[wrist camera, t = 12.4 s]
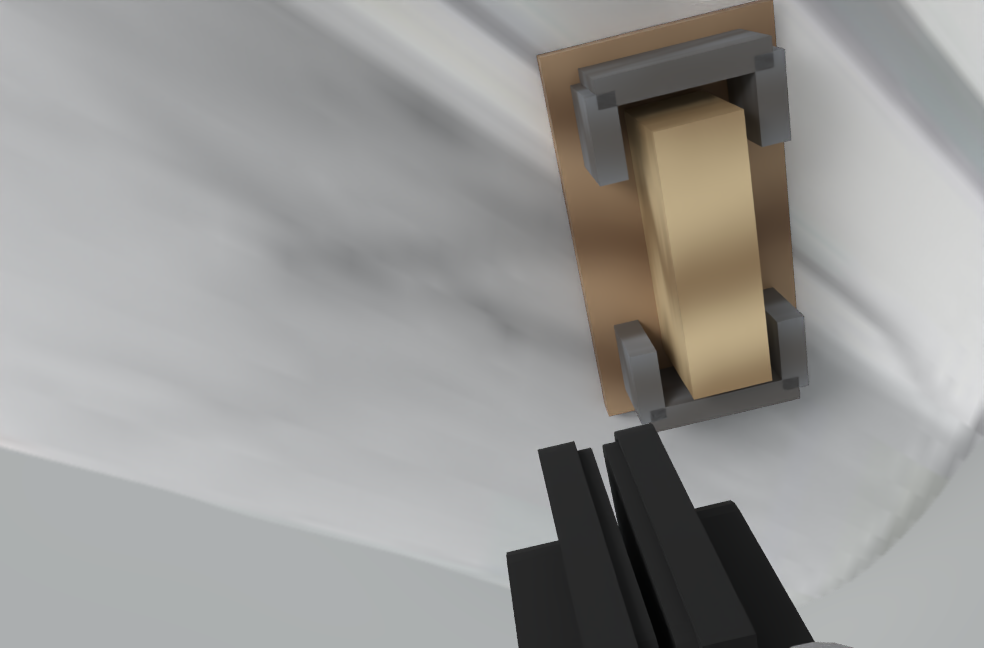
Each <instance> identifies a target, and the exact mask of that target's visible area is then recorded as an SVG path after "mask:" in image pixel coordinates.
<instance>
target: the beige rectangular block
mask: <svg viewBox="0 0 984 648" xmlns="http://www.w3.org/2000/svg"><path fill="white" fill-rule="evenodd" d="M624 115H625V121H626V127H627V133H628V139H629V145H630V151H631V157H632V163H633V169H634V175H635V181H636V187H637V193H638V199H639V205H640V211H641V217H642V223H643V229H644V235H645V241H646V247H647V253H648V259H649V265H650V271H651V277H652V283H653V289H654V295H655V301H656V307H657V313H658V319H659V325H660V331H661V337H662V343H663V349H664V351H665V353H666V355H667V356H668V358H669V359H670V361H671V363H672V364H673V366H674V368H675V369H676V371H677V373H678V374H679V376H680V377H681V379H682V381H683V382H684V384H685V386H686V387H687V389H688V390H689V392H690V394H691V395H692V397H693V399H694V400H695V399H699V398H703V397H707V396H712V395H716V394H720V393H724V392H728V391H732V390H736V389H740V388H744V387H748V386H752V385H756V384H761V383H765V382H769V381H772V373H771V364H770V354H769V344H768V335H767V325H766V316H765V306H764V297H763V287H762V278H761V268H760V259H759V249H758V240H757V230H756V221H755V211H754V201H753V192H752V182H751V173H750V163H749V154H748V144H747V135H746V125H745V116H744V109H742V108H740V107H738V106H736V105H734V104H731V103H729V102H727V101H725V100H723V99H721V98H719V97H716V96H714V95H712V94H710V93H708V92H706V91H704V90H701V91H697V92H693V93H689V94H685V95H681V96H677V97H673V98H670V99H666V100H662V101H658V102H654V103H650V104H646V105H642V106H638V107H634V108H630V109H627V110H624Z"/></svg>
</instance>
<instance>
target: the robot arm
mask: <svg viewBox="0 0 984 648" xmlns="http://www.w3.org/2000/svg"><path fill="white" fill-rule="evenodd" d="M614 436H615V442H613V443H609V444H604V445H603V453H604V458H605V463H606V468H607V473H608V477H609V482H610V487H611V492H612V497H613V502H614V507H615V512H616V517H617V522H618V525H617V522H616V519H615V516H614V513H613V510H612V507H611V504H610V501H609V498H608V495H607V492H606V489H605V486H604V484H603V481H602V478H601V475H600V472H599V469H598V466H597V463H596V460H595V457H594V454H593V451H592V449H591V448H587V449H583V450H579V451H577V448H576V445H575V442H574V441H573V442H569V443H564V444H560V445H556V446H552V447H548V448H543V449H539V450H538V453H539V458H540V462H541V466H542V471H543V475H544V479H545V484H546V488H547V492H548V497H549V501H550V505H551V510H552V514H553V518H554V523H555V527H556V531H557V536H558V541H554V542H550V543H545V544H541V545H537V546H532V547H528V548H524V549H520V550H515V551H511V552H507V555H506V557H507V566H508V573H509V580H510V588H511V594H512V602H513V610H514V617H515V624H516V632H517V639H518V646H519V648H852V647H848V646H844V645H841V644H837V643H824V642H823V643H822V642H815V641H814V640H813V638H812V636H811V634H810V633H809V631H808V629H807V627H806V626H805V624H804V622H803V621H802V619H801V617H800V615H799V613H798V612H797V610H796V608H795V606H794V605H793V603H792V601H791V599H790V598H789V596H788V594H787V592H786V591H785V589H784V587H783V585H782V584H781V582H780V580H779V578H778V577H777V575H776V573H775V571H774V570H773V568H772V566H771V564H770V563H769V561H768V559H767V557H766V556H765V554H764V552H763V550H762V549H761V547H760V545H759V544H758V542H757V540H756V538H755V537H754V535H753V533H752V531H751V530H750V528H749V526H748V524H747V523H746V521H745V519H744V517H743V516H742V514H741V512H740V510H739V509H738V507H737V506H736V504H735V503H734V502H732V501H731V500H730V501H725V502H721V503H717V504H712V505H708V506H704V507H700V508H695V509H694V507H693V505H692V503H691V500H690V498H689V496H688V494H687V492H686V490H685V488H684V486H683V484H682V482H681V480H680V478H679V476H678V474H677V472H676V470H675V468H674V466H673V464H672V462H671V460H670V458H669V456H668V454H667V452H666V450H665V448H664V446H663V444H662V442H661V440H660V437H659V435H658V433H657V431H656V429H655V427H654V426H653V424H652V423H649V424H645V425H641V426H636V427H632V428H628V429H624V430H619V431H615V432H614Z"/></svg>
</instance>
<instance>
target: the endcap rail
mask: <svg viewBox="0 0 984 648" xmlns="http://www.w3.org/2000/svg"><path fill="white" fill-rule="evenodd" d="M536 56H537V61H538V66H539V71H540V76H541V81H542V86H543V91H544V97H545V102H546V107H547V112H548V117H549V122H550V127H551V132H552V137H553V142H554V147H555V153H556V158H557V163H558V168H559V173H560V178H561V183H562V188H563V193H564V198H565V204H566V209H567V214H568V219H569V224H570V229H571V234H572V239H573V244H574V249H575V255H576V260H577V265H578V270H579V275H580V280H581V285H582V290H583V295H584V300H585V306H586V311H587V316H588V321H589V326H590V331H591V336H592V341H593V346H594V351H595V356H596V362H597V367H598V372H599V377H600V382H601V387H602V392H603V397H604V402H605V407H606V410H607V412H608V414H609V416H613V415H617V414H622V413H626V412H630V411H634V410H635V411H636V413H637V415H638V417H639V419H640V421H641V423H642V424H646V423H652V424H653V426H654V427H655V429H656V431H657V432H659V431H664V430H668V429H672V428H676V427H681V426H685V425H689V424H693V423H697V422H702V421H706V420H710V419H714V418H719V417H723V416H727V415H731V414H736V413H740V412H744V411H748V410H753V409H757V408H761V407H765V406H770V405H774V404H778V403H782V402H786V401H791V400H795V399H799V398H800V390H799V387H803V386H807V385H809V381H808V367H807V353H806V339H805V325H804V316H803V315H802V314H801V313H800V312H799V311H798V310H797V309H796V296H795V283H794V270H793V257H792V244H791V231H790V217H789V204H788V191H787V178H786V165H785V152H784V142H785V141H790V140H791V131H790V117H789V104H788V90H787V76H786V62H785V49H783V48H779V47H776V34H775V20H774V7H773V0H758V1H754V2H750V3H746V4H742V5H738V6H734V7H730V8H726V9H722V10H718V11H714V12H709V13H705V14H701V15H697V16H693V17H689V18H685V19H681V20H677V21H673V22H669V23H665V24H661V25H657V26H653V27H649V28H645V29H641V30H637V31H633V32H629V33H625V34H621V35H617V36H613V37H609V38H605V39H601V40H597V41H593V42H589V43H585V44H581V45H577V46H573V47H569V48H565V49H560V50H556V51H552V52H548V53H544V54H540V55H536ZM701 90H704V91H706V92H708V93H710V94H712V95H714V96H716V97H719V98H721V99H723V100H725V101H727V102H729V103H731V104H734V105H736V106H738V107H740V108H742V109H744V116H745V125H746V135H747V144H748V154H749V163H750V173H751V182H752V192H753V201H754V211H755V221H756V230H757V240H758V249H759V259H760V268H761V278H762V287H763V297H764V306H765V316H766V325H767V335H768V344H769V354H770V364H771V373H772V381H769V382H765V383H761V384H756V385H752V386H748V387H744V388H740V389H736V390H732V391H728V392H724V393H720V394H716V395H712V396H707V397H703V398H699V399H695V400H694V399H693V397H692V395H691V394H690V392H689V390H688V389H687V387H686V386H685V384H684V382H683V381H682V379H681V377H680V376H679V374H678V373H677V371H676V369H675V368H674V366H673V364H672V363H671V361H670V359H669V358H668V356H667V355H666V353H665V351H664V349H663V343H662V337H661V331H660V325H659V319H658V313H657V307H656V301H655V295H654V289H653V283H652V277H651V271H650V265H649V259H648V253H647V247H646V241H645V235H644V229H643V223H642V217H641V211H640V205H639V199H638V193H637V187H636V181H635V175H634V169H633V163H632V157H631V151H630V145H629V139H628V133H627V127H626V121H625V115H624V110H627V109H630V108H634V107H638V106H642V105H646V104H650V103H654V102H658V101H662V100H666V99H670V98H673V97H677V96H681V95H685V94H689V93H693V92H697V91H701Z"/></svg>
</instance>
